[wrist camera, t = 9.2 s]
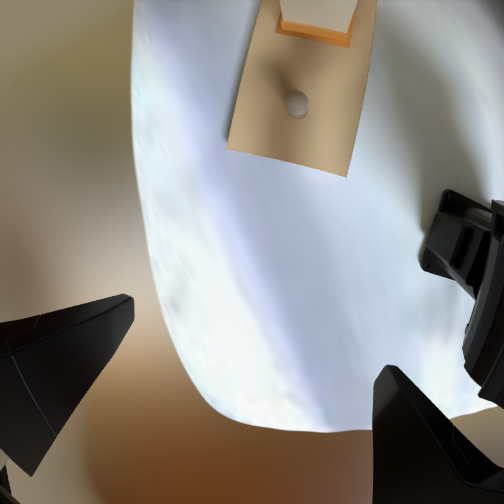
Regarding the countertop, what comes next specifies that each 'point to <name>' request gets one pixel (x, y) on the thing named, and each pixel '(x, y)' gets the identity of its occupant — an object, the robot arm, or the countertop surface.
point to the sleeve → (318, 17)
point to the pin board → (303, 91)
